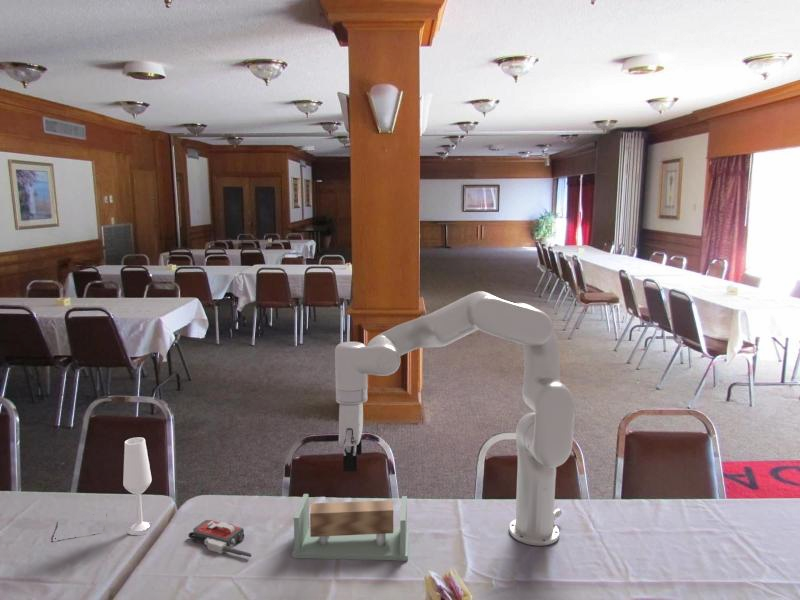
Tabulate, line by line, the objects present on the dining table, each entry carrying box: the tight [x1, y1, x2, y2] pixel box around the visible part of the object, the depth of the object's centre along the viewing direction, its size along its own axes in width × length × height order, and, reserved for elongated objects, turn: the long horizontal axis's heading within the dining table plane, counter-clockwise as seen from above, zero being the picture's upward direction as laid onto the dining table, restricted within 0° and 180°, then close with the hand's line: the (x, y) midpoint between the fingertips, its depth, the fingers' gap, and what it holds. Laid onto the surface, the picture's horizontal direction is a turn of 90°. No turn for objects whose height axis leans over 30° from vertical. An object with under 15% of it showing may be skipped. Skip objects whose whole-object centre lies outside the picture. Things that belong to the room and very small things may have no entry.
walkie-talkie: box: [188, 519, 252, 558], centre depth 148 cm, size 9×4×20 cm
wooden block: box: [309, 499, 394, 537], centre depth 146 cm, size 20×5×6 cm, turn 95°
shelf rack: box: [291, 493, 410, 562], centre depth 147 cm, size 28×12×10 cm, turn 88°
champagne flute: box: [122, 436, 153, 531], centre depth 153 cm, size 7×7×24 cm
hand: (352, 462), depth 144 cm, fingers open, 9 cm apart
